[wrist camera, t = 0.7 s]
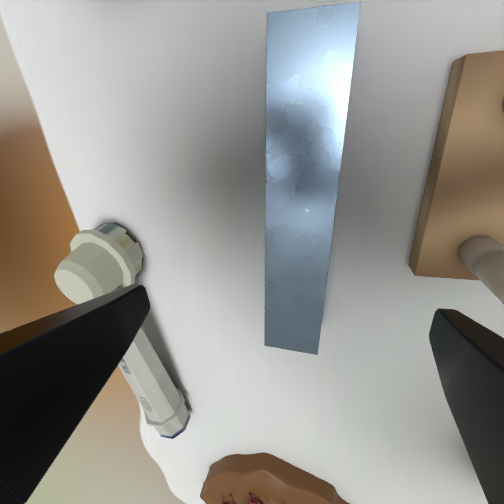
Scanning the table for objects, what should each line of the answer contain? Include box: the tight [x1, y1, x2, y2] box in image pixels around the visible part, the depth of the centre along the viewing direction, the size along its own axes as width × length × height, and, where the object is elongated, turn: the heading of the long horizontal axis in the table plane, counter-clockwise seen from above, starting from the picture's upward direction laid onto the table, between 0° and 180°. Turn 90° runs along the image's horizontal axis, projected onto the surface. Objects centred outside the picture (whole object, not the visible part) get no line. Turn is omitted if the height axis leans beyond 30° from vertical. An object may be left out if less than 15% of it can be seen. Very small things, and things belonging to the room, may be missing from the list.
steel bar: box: [265, 2, 361, 355], centre depth 18 cm, size 20×4×4 cm, turn 1°
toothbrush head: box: [54, 223, 190, 439], centre depth 27 cm, size 5×7×25 cm
